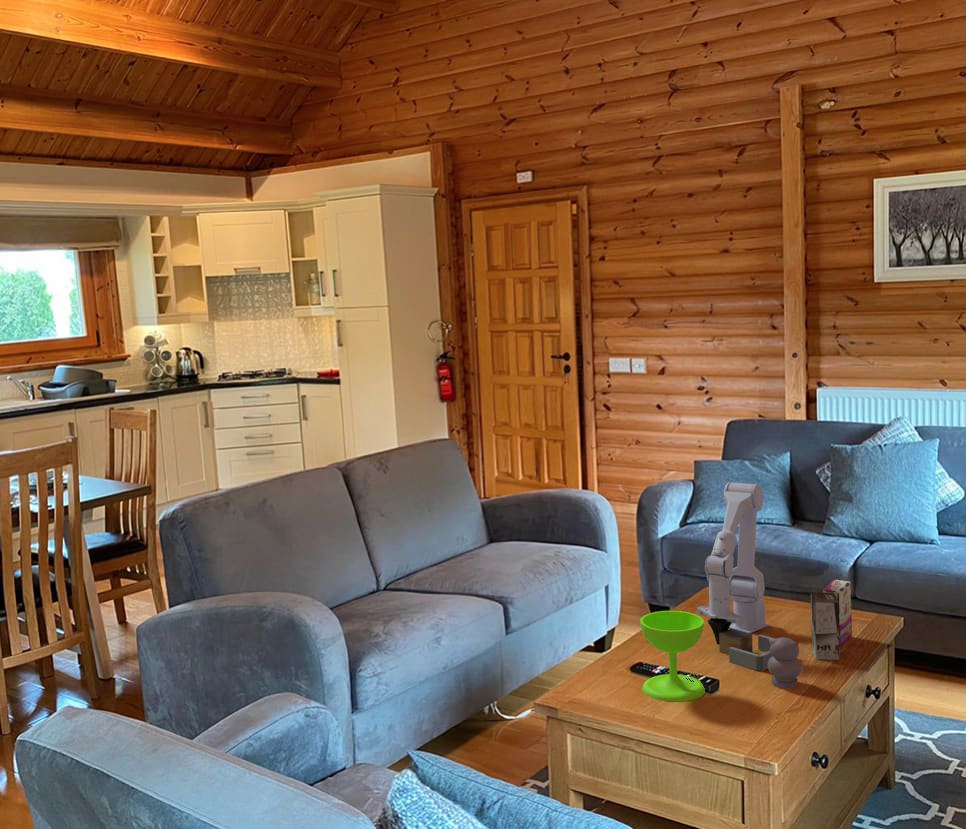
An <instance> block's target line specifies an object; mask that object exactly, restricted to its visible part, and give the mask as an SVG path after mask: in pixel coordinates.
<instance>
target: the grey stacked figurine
mask: <svg viewBox="0 0 966 829" xmlns="http://www.w3.org/2000/svg"><path fill="white" fill-rule="evenodd" d="M772 638H773V637H771V638H768V639H769V642H770V644H771V646H770V652H771V654H772V655H773V656H772V657H771V658H770V659H769V661H768V669H767V670H768V671H769V673H771V675H772V677H771V685H772V686H773V687H776V688H778V689H783V690H784V689H785V690H788V689H794V688H797V687H798V678H797V677H798V676H800V675H801V673H802V671H803V663H802V662H801V660H800V659H799V658H798V657H799V653H800V647H799V643H800V642H797V641H794V639H791V638H789V637H779V638H778V637H777V638H775V639H772Z"/></svg>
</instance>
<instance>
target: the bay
mask: <svg viewBox="0 0 966 829" xmlns="http://www.w3.org/2000/svg"><path fill="white" fill-rule="evenodd" d="M768 638H772V639H776V638H774V637H770V636H768V635H763V634H759V635H757V648H758V650H759V651H762V652H763V653H760V654H759V653H758V654H757V653H754V652H753V653H751V652H748V651H744V650H741V649H737V648H734V647H730V648H729V655H728V659H729V660H728V663H730V664H731V663H732V664H734V665H738V666H741V667H742V668H744V667H745V668H747V669H751V670H753V671H756V672H763V671H766V670H769V669H768V661H769V659H770V658H771V657H772V656H773V655H772V654H771V652H770V646H771V644H770V642H769V639H768Z"/></svg>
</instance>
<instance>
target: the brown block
mask: <svg viewBox="0 0 966 829" xmlns="http://www.w3.org/2000/svg"><path fill="white" fill-rule="evenodd" d="M730 647H734V648H737V649H741V650H744V651H748V652H751V653H754V652H753V634H752V633H746V632H742V631H739V630H735V629H732V628H729V629H728V630H726V631H724V632H721V633H719V653H721V654H725V655H728V656H729V648H730Z"/></svg>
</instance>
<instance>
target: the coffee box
mask: <svg viewBox="0 0 966 829" xmlns="http://www.w3.org/2000/svg"><path fill="white" fill-rule="evenodd" d="M810 619H811V620H810V623H811V624H810V627H811V636H810V637H811V650H812V652H813V655H814V658H815V659H816V660H825V661H826V660H828V661H830V660H832V661H840V648H839V601H838V599H837V598H836V596H835V594H834V593H822V592H810ZM836 659H838V660H836Z"/></svg>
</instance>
